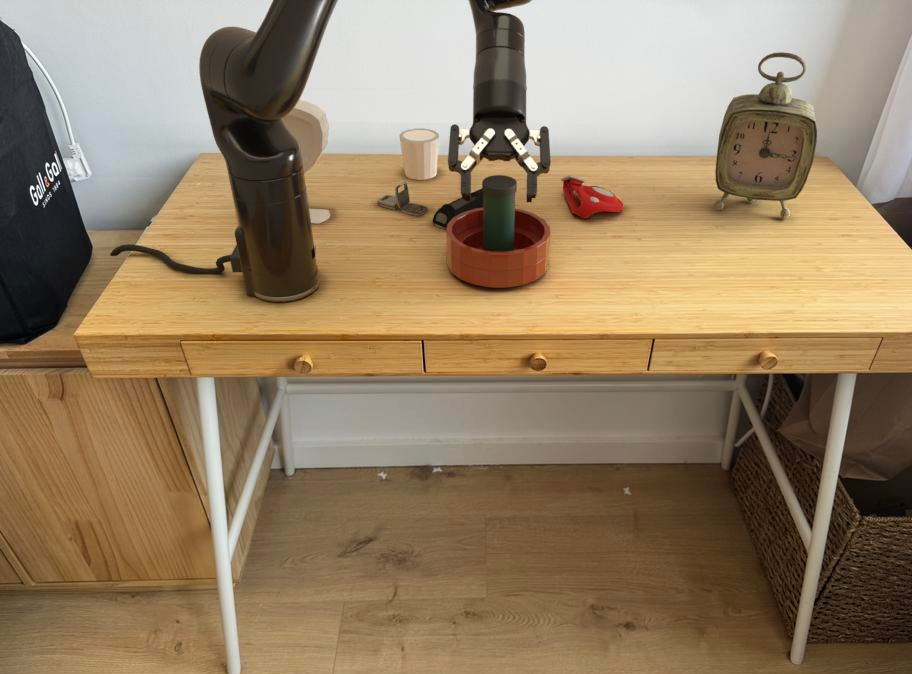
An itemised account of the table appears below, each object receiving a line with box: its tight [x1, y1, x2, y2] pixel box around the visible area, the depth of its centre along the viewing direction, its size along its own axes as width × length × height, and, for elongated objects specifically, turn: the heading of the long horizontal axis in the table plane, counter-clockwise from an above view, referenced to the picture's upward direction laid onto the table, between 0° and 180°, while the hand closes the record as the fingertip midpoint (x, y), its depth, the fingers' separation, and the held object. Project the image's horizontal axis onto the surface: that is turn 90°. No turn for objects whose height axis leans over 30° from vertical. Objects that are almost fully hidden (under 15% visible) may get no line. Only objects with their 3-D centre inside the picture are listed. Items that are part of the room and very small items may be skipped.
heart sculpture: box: [281, 99, 331, 225], centre depth 125 cm, size 16×5×18 cm, turn 85°
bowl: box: [445, 207, 551, 289], centre depth 117 cm, size 15×15×6 cm
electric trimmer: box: [432, 187, 483, 230], centre depth 132 cm, size 4×16×3 cm, turn 142°
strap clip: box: [376, 181, 429, 217], centre depth 132 cm, size 8×3×4 cm, turn 62°
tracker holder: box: [560, 175, 624, 219], centre depth 134 cm, size 12×4×10 cm
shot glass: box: [399, 127, 440, 181], centre depth 142 cm, size 7×7×7 cm
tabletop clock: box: [713, 51, 818, 219], centre depth 129 cm, size 14×9×25 cm, turn 76°
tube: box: [481, 174, 518, 252], centre depth 114 cm, size 5×5×12 cm
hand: (498, 200), depth 113 cm, fingers open, 8 cm apart
